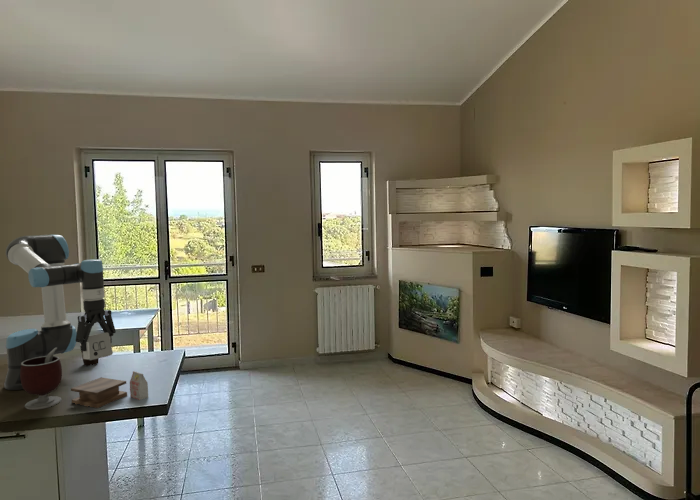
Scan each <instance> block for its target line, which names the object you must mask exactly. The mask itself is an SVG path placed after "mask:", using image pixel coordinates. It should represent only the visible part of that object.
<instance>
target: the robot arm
mask: <svg viewBox="0 0 700 500" xmlns="http://www.w3.org/2000/svg"><path fill="white" fill-rule="evenodd" d="M5 256H6V258H7V260H8V261H9V262H10V263H11V264H13V265H15V266H19V268H21V269H22V270H23V271H24V272H26V273H27V274H28V282H29V284H30V286H31V288H41V297H42V299H41V300H42V309H43V318H44V322H43V323H42V325H41V326H40V329H41V330H38V329H37V328H27V329H21V330H18V331H16V332H12V333H11V334H9V335H8V336H7V337H6V343H5V344H6V345H5V348H6V355H7V357H6V360H7V373H6V374H5V375H6V376H5V380H4V386H3V387H4V389H5V390H9V391H19V390H24V389H23V387H22V384H21V380H20V369H21V363H22V362H23V361H25V360H28V359H32V358H36V357H43V356H47V355H48V354H49V353H50V352H51V351H52V350H53V349H54V348H57V349H56V350H55V352H54V355H53V356H56V355H60V354H64V353H68V352H69V353H70V352H71V351H73V349H75V347H76V345H77V343H80V344H81V348H80V351H81V350H82V351H83V358H82V360H83V359H90V351H89V342H87V340H88V337H89V336H90V334H91V331H92V328H93V326H94V325H95V324H96V323H97V324H99V326H100V328H101V330H102V331H103V333H106V332H107V333H109V337H110V342H111V344H112V342H113V341H112V340H113V339H112V337H113V336H114V334H116V328H115V324H114V320H113V317H112V310H110V309H105V308H106V299H105V286H104V285H105V283H104V280H105V279H104V267H103V266H104V265H103V261H102V260H101V259H98V258H97V259H85V260H82V261H81V262H79V263H78V262H77V263H73V264H66V260H67V259H69V256H70V250H69V244H68V242H67V240H66V238H64V236H63V235H60V234H39V235H23V236H19V237H16V238H15V239H13V240H11V241H10V242H9V243H8V244H7V246H6V248H5ZM80 283H81V287H82V288H81V289H82V299H83V310H84V314H83V315H77V328H76V327H75V325H72V324H71V321H69V320H68V319H67V311H66V304H65V303H66V300H65V293H64V292H65V291H64V285H70V284H80Z"/></svg>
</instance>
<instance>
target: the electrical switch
mask: <svg viewBox="0 0 700 500" xmlns="http://www.w3.org/2000/svg"><path fill="white" fill-rule="evenodd" d="M87 342H89V351H90V359H89V360H94V359H98V358H99V359H101V358H105V357H109V356H112V355H114V351H113V347H112V343H111V342H110V337H109V333H107V332H106V333H104V332H102V333H96V334H93V335H89V337H88V340H87ZM94 353H95V354H94ZM99 359H98V360H99Z"/></svg>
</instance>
